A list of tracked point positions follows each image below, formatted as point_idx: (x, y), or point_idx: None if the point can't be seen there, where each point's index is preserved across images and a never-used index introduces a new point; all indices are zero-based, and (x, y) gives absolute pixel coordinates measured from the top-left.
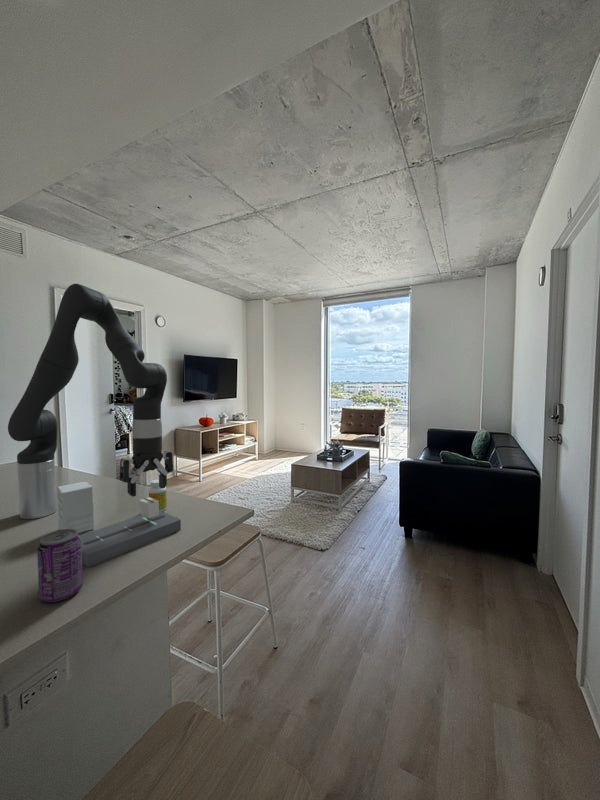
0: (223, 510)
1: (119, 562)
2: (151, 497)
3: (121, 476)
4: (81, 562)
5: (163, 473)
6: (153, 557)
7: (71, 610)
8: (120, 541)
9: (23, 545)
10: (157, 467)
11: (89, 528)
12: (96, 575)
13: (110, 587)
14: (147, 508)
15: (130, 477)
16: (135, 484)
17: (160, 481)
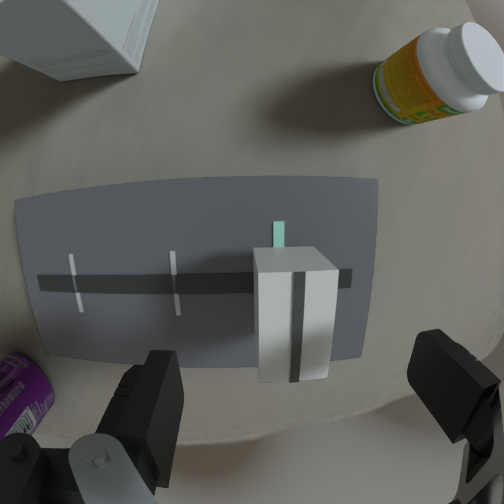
0: (490, 300)
1: (123, 374)
2: (408, 75)
3: (6, 480)
4: (34, 429)
5: (464, 463)
6: (196, 414)
7: (50, 422)
8: (123, 359)
9: (3, 75)
10: (490, 492)
11: (121, 72)
12: (76, 379)
13: (97, 427)
14: (257, 355)
15: (110, 489)
16: (165, 476)
17: (441, 377)
